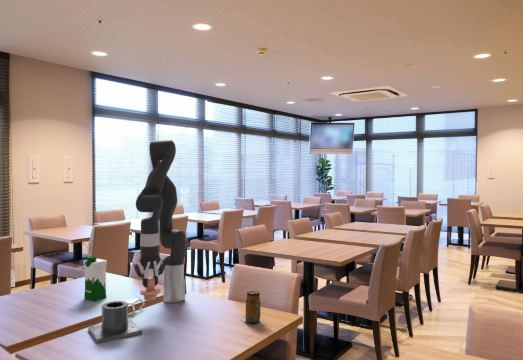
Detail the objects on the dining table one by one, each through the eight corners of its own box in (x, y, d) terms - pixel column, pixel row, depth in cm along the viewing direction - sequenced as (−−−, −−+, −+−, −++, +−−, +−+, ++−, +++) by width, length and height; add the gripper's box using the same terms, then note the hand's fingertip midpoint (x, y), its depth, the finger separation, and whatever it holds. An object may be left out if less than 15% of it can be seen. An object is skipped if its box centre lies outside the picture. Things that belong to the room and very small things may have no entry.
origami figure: (128, 318, 175) (128, 306, 174) (114, 314, 179) (114, 303, 178) (149, 310, 185) (149, 298, 185) (135, 306, 189) (135, 295, 189)
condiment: (256, 317, 177) (257, 289, 177) (266, 324, 170) (266, 294, 169) (240, 319, 174) (241, 291, 174) (249, 327, 167) (249, 296, 166)
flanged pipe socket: (130, 322, 169) (130, 296, 169) (142, 334, 158) (142, 306, 158) (88, 330, 160) (88, 303, 160) (97, 343, 149) (97, 314, 149)
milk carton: (81, 299, 199) (81, 256, 198) (97, 294, 206) (97, 253, 206) (92, 302, 194) (93, 259, 193) (109, 297, 202) (109, 255, 201)
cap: (156, 294, 177) (156, 274, 177) (163, 299, 171) (163, 278, 170) (137, 297, 173) (137, 277, 172) (144, 303, 166) (144, 281, 166)
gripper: (162, 240, 178) (163, 281, 179) (129, 244, 170) (129, 286, 170) (170, 243, 172) (170, 285, 173) (135, 247, 164) (136, 291, 164)
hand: (150, 285), depth 171 cm, fingers closed on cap, 3 cm apart
